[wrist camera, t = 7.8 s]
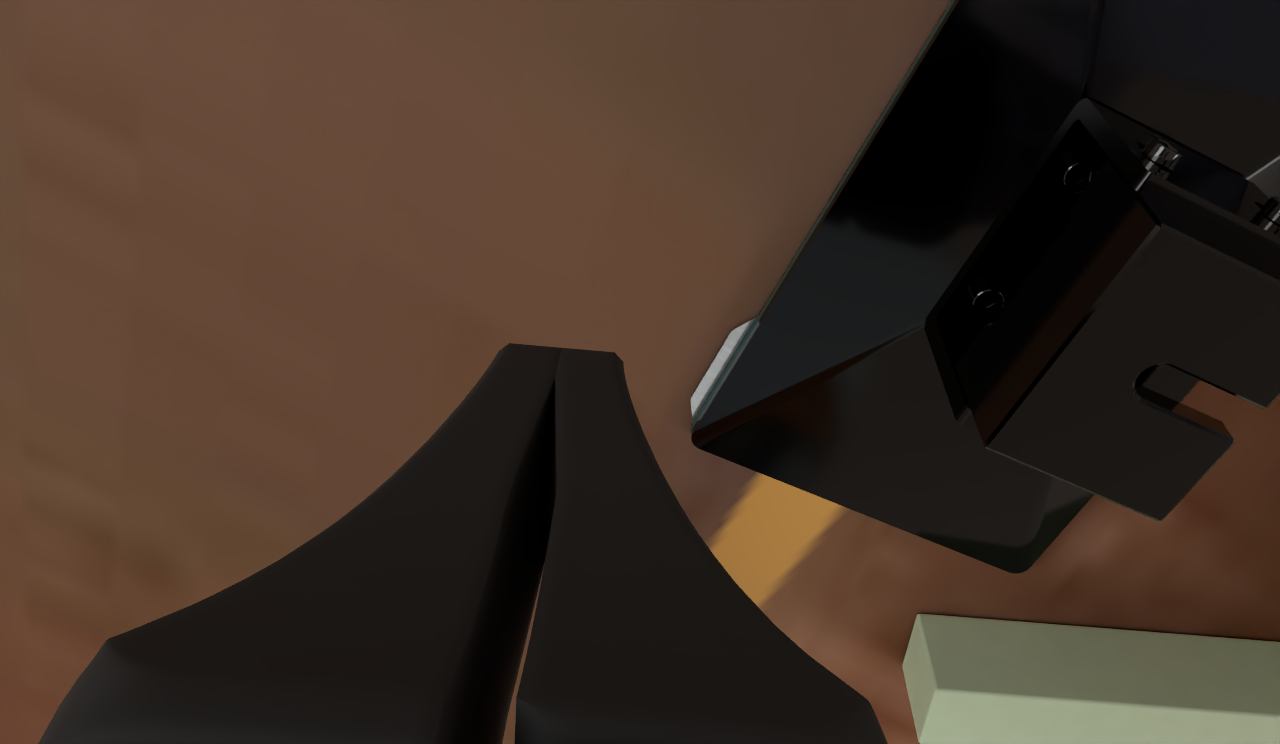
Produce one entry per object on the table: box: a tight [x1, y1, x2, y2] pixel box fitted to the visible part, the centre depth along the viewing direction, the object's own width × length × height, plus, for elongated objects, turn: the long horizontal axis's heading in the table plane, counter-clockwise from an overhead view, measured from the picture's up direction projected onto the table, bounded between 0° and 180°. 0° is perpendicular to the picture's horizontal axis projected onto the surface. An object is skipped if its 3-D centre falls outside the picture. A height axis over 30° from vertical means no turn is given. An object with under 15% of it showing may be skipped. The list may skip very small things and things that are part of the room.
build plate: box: [691, 0, 1280, 573], centre depth 17 cm, size 12×7×5 cm, turn 155°
